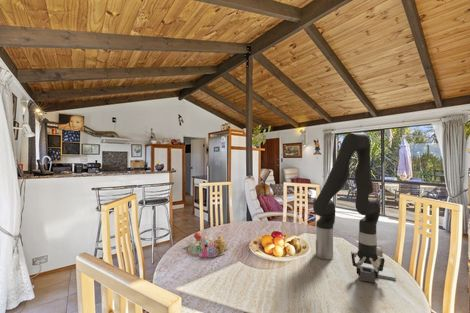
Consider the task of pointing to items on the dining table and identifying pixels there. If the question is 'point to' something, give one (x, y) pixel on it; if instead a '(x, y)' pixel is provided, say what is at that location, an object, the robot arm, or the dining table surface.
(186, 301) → the dining table surface
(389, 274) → the peg board
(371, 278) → the grey block
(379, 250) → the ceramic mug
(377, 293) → the dining table surface
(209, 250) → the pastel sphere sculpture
